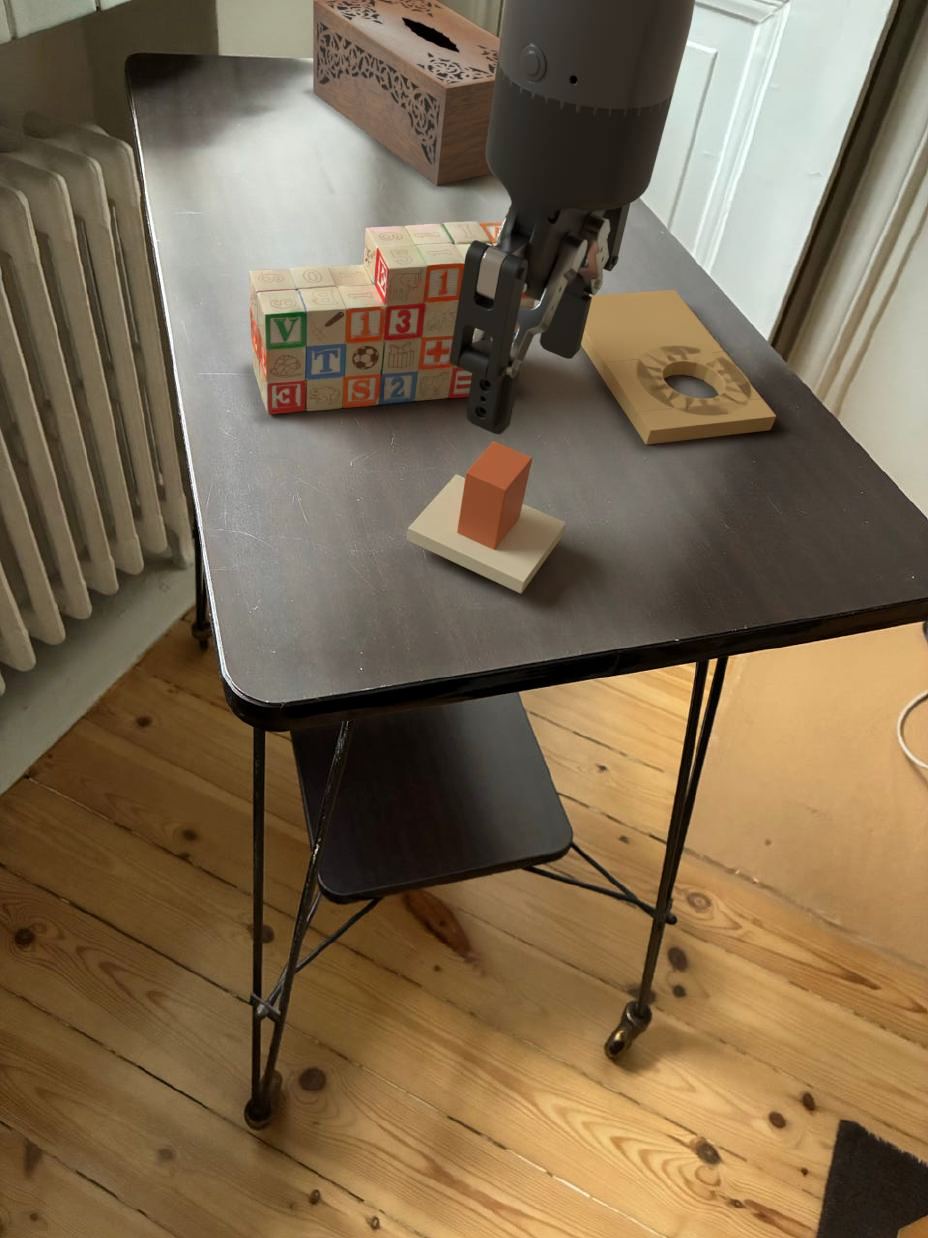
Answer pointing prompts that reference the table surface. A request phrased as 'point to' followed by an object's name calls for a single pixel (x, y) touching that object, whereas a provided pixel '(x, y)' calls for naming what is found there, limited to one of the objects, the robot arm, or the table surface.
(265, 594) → the table surface
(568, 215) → the robot arm
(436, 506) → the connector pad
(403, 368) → the stack of blocks
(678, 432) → the base pad
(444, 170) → the tissue box cover
